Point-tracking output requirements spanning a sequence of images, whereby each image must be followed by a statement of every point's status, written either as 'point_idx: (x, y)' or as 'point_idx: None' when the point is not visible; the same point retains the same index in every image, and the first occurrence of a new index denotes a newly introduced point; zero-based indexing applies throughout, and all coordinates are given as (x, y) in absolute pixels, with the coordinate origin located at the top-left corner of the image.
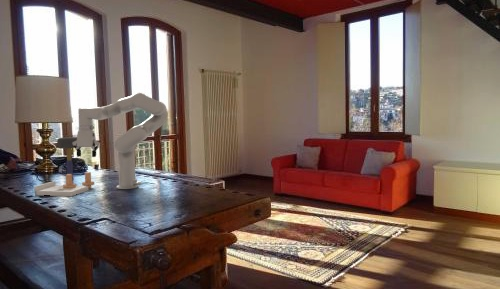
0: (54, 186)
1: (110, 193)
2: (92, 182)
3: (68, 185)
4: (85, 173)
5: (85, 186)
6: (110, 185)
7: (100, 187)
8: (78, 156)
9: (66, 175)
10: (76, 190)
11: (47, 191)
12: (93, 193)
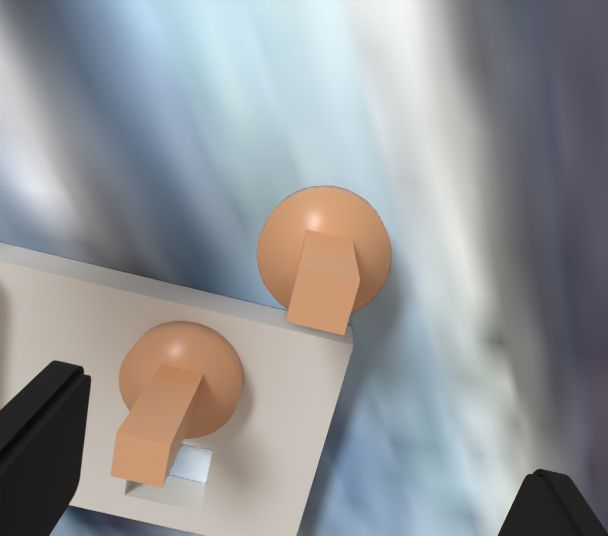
0: (14, 318)
1: (581, 473)
2: (377, 273)
3: (189, 426)
4: (295, 318)
5: (331, 359)
6: (530, 80)
7: (436, 193)
8: (79, 478)
9: (123, 470)
10: (306, 498)
11: (81, 505)
12: (435, 454)
